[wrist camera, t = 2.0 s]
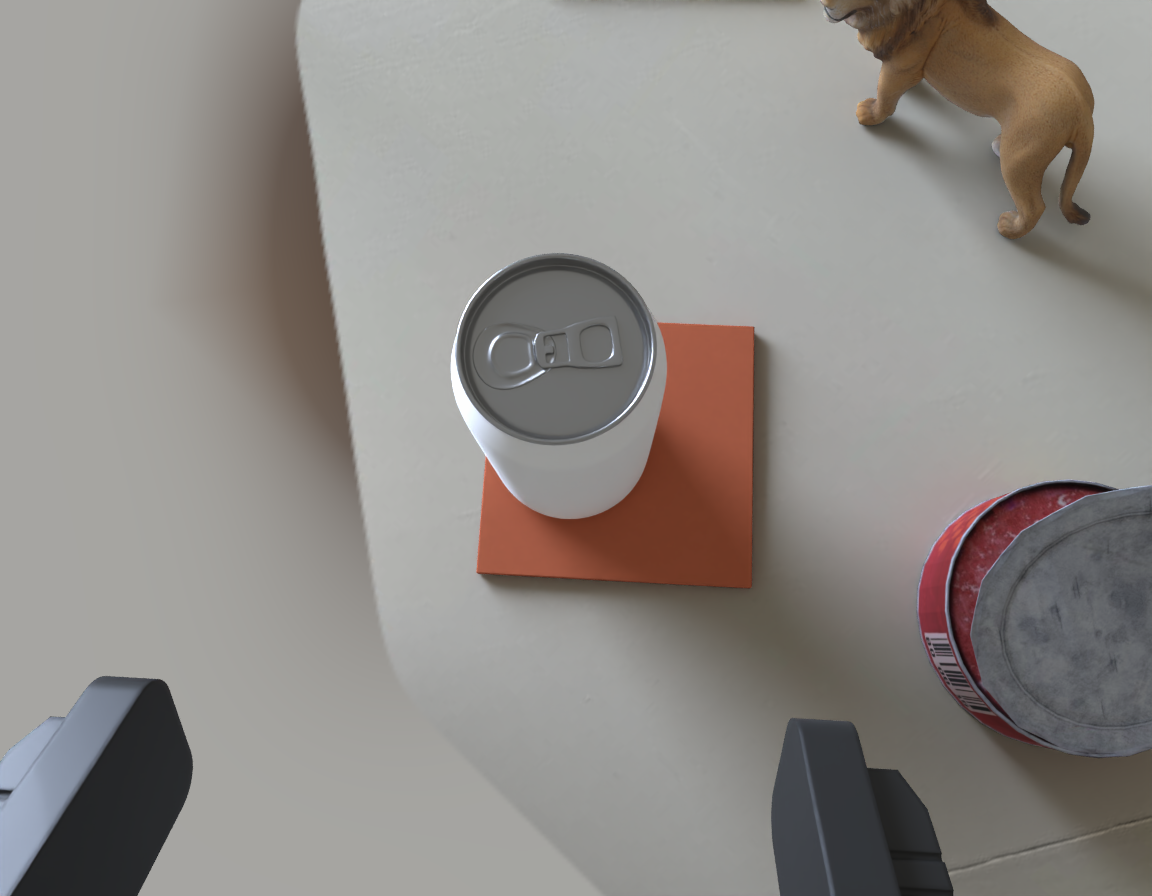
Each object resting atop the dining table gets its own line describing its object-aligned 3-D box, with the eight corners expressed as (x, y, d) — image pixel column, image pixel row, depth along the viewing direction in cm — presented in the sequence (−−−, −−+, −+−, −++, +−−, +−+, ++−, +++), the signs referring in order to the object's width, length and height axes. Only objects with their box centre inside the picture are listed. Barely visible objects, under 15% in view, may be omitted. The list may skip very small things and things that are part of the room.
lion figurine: (766, 96, 39) (814, -62, 30) (830, 15, 40) (894, -162, 31) (1051, 271, 37) (1191, 155, 28) (1112, 180, 38) (1268, 40, 29)
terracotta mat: (477, 573, 35) (476, 572, 34) (498, 319, 37) (496, 315, 37) (750, 588, 34) (751, 588, 34) (753, 329, 37) (754, 326, 36)
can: (485, 380, 36) (429, 254, 24) (637, 359, 36) (654, 224, 24) (502, 531, 35) (451, 475, 23) (660, 510, 35) (690, 443, 23)
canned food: (1106, 604, 38) (1380, 684, 29) (953, 756, 36) (1195, 896, 26) (1008, 397, 35) (1279, 411, 26) (833, 548, 33) (1060, 624, 23)
